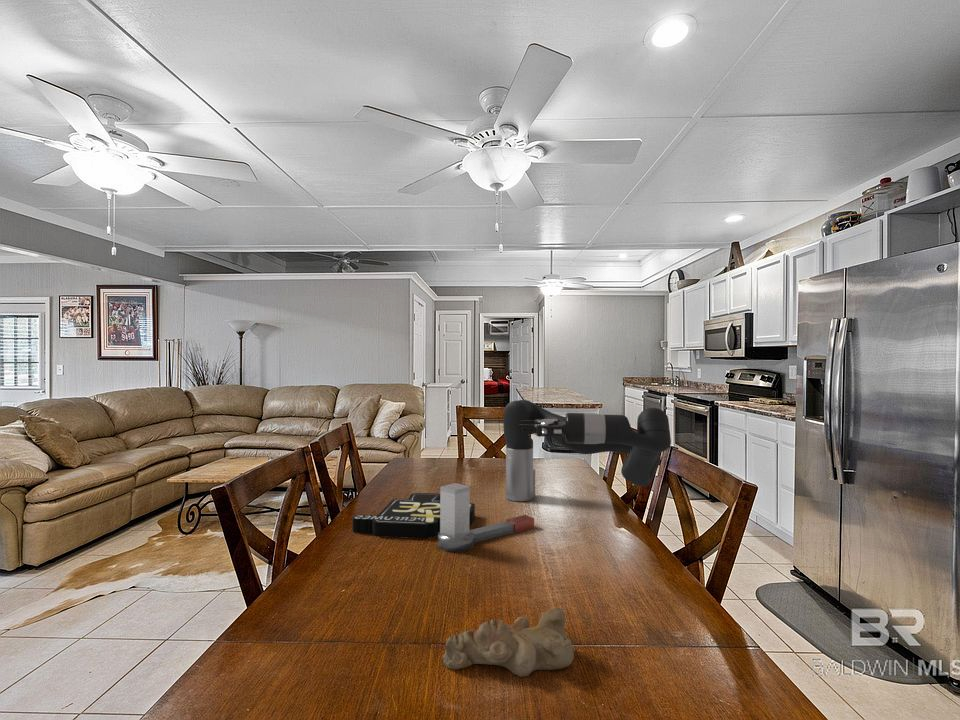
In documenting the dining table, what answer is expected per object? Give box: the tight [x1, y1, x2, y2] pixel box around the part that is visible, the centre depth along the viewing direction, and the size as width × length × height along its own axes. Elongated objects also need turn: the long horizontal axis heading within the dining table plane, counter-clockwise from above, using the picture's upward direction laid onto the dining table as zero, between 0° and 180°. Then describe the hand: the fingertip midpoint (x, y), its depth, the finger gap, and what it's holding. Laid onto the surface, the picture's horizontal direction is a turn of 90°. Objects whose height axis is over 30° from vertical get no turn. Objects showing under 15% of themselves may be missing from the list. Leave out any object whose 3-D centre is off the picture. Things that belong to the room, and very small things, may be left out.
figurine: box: [442, 607, 575, 678], centre depth 76 cm, size 12×8×20 cm
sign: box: [351, 492, 476, 539], centre depth 142 cm, size 32×4×30 cm
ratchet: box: [437, 514, 535, 553], centre depth 128 cm, size 30×9×7 cm, turn 126°
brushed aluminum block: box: [439, 482, 471, 540], centre depth 122 cm, size 5×5×12 cm
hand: (519, 426), depth 122 cm, fingers open, 8 cm apart
